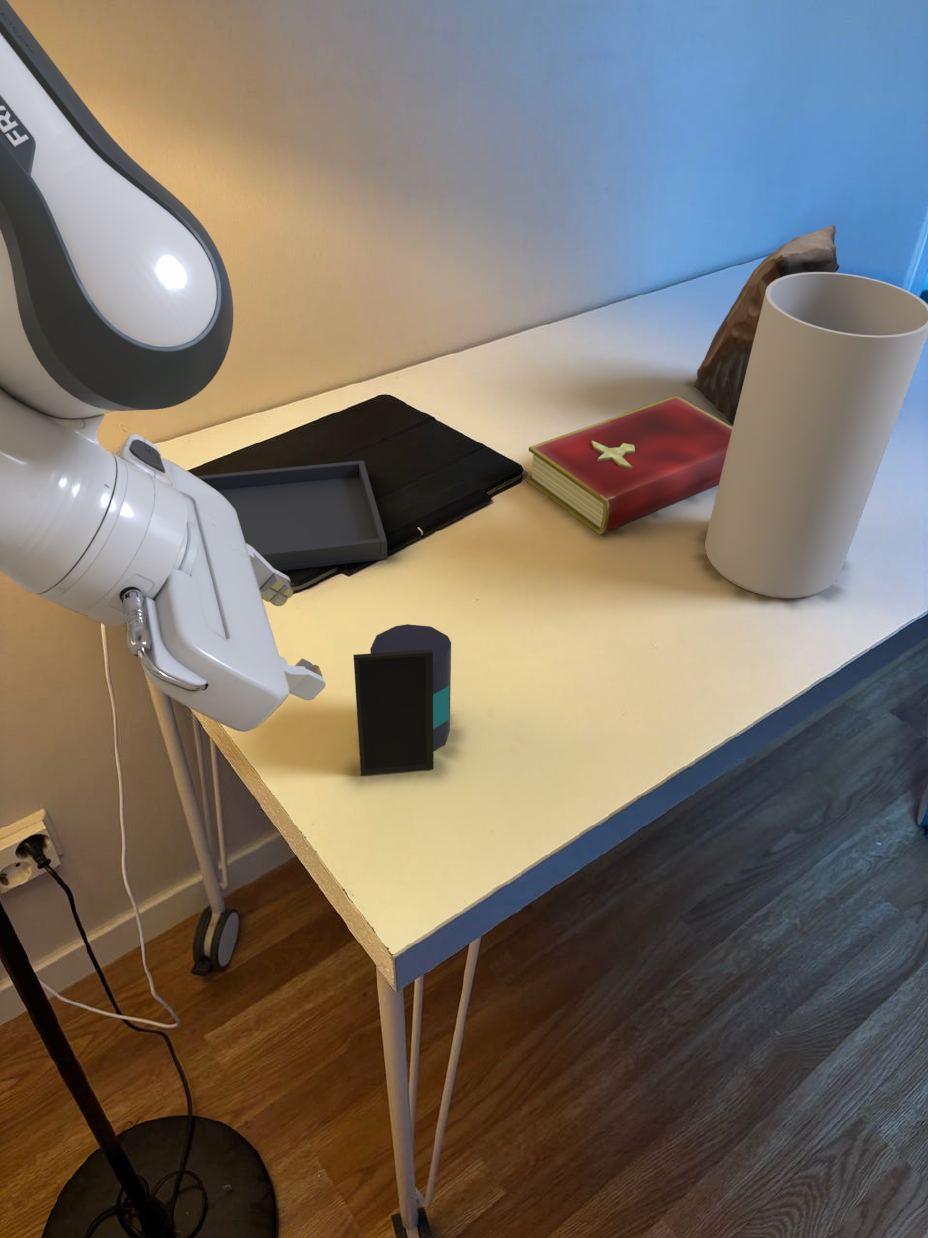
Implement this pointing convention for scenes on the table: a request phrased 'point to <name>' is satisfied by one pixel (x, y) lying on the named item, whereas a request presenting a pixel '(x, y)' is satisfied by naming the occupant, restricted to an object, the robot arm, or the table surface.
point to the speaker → (403, 699)
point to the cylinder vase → (812, 428)
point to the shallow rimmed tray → (306, 514)
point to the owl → (757, 316)
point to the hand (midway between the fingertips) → (300, 637)
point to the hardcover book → (632, 463)
